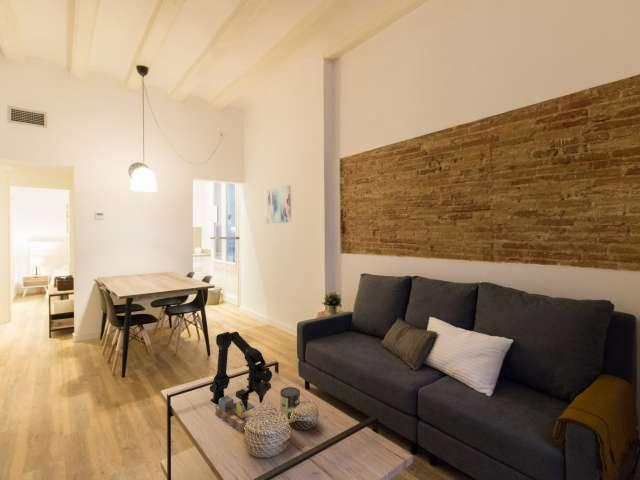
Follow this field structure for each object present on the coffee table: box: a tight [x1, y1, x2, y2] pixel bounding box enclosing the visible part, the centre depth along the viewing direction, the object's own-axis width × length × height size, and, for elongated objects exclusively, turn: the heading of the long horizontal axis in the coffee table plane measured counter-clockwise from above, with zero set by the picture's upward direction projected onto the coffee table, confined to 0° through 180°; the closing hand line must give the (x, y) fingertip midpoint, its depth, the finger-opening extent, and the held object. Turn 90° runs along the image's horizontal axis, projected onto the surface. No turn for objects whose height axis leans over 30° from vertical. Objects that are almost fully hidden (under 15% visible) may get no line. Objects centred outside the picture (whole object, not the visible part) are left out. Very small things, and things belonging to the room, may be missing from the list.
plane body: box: [214, 405, 250, 433], centre depth 175 cm, size 23×6×5 cm, turn 48°
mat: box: [234, 400, 255, 413], centre depth 189 cm, size 10×10×1 cm
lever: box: [235, 401, 244, 418], centre depth 171 cm, size 5×1×6 cm, turn 48°
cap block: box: [218, 395, 235, 412], centre depth 179 cm, size 6×5×5 cm
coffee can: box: [279, 386, 301, 419], centre depth 179 cm, size 10×10×14 cm
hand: (253, 406), depth 177 cm, fingers open, 9 cm apart
